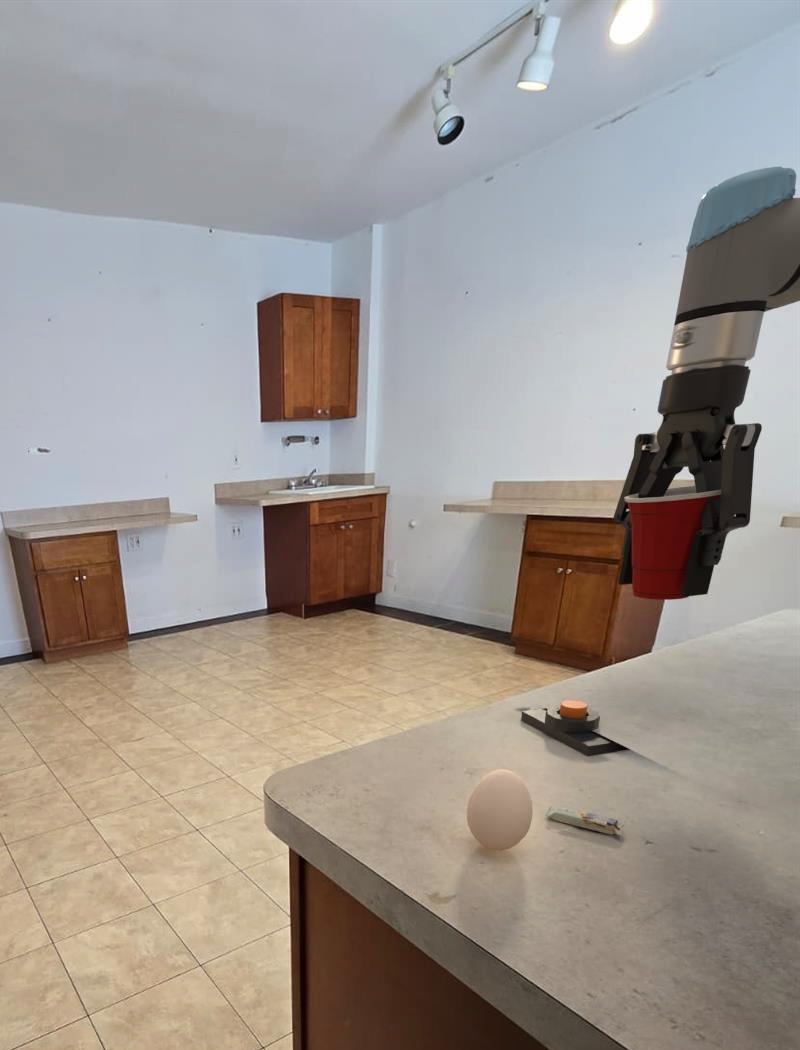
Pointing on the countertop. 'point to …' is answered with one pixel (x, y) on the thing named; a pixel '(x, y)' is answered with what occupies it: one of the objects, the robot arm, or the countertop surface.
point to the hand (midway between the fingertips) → (660, 588)
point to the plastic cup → (664, 540)
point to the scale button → (573, 709)
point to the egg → (499, 810)
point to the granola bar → (585, 820)
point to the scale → (572, 730)
